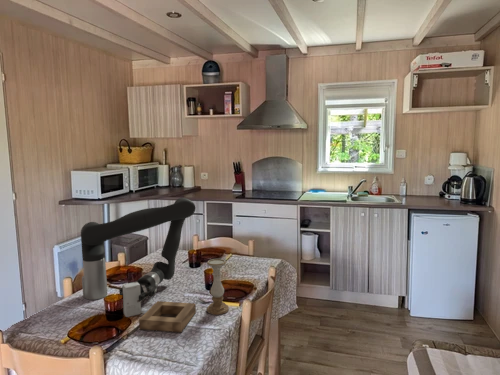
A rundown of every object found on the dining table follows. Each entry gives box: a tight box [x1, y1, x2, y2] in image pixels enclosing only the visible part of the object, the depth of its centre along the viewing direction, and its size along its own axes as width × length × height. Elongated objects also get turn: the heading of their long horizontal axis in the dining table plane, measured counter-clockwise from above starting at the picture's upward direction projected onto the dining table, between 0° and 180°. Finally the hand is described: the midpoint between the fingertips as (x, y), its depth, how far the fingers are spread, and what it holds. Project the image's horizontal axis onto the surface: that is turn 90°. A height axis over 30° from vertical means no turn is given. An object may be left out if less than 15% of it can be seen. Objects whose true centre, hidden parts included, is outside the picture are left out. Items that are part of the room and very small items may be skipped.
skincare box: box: [122, 281, 142, 318], centre depth 147 cm, size 6×4×12 cm
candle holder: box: [206, 258, 230, 316], centre depth 148 cm, size 9×9×20 cm
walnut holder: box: [138, 300, 197, 334], centre depth 140 cm, size 16×16×4 cm
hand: (129, 298), depth 145 cm, fingers open, 8 cm apart
